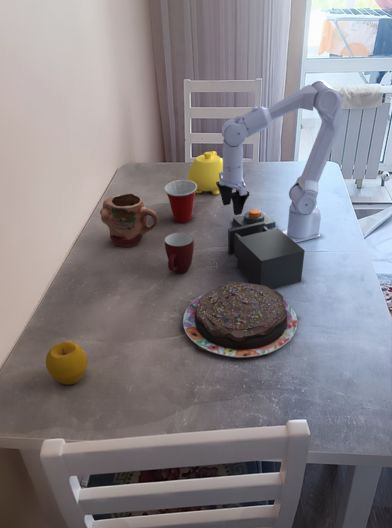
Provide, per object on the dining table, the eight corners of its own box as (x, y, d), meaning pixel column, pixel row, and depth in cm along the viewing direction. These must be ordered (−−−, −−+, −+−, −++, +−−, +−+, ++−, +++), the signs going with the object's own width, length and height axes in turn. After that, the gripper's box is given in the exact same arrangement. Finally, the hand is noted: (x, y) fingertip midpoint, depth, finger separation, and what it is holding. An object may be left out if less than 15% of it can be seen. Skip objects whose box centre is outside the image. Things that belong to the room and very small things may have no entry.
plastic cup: (161, 224, 162) (158, 190, 155) (174, 210, 170) (172, 178, 163) (191, 229, 159) (189, 194, 152) (203, 215, 167) (202, 181, 159)
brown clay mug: (168, 235, 156) (165, 195, 147) (154, 254, 146) (150, 211, 138) (111, 229, 161) (105, 189, 152) (95, 246, 151) (87, 205, 143)
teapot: (195, 175, 196) (194, 141, 187) (233, 177, 193) (234, 143, 184) (184, 195, 180) (182, 159, 172) (225, 198, 177) (225, 161, 169)
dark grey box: (221, 247, 147) (221, 223, 142) (255, 239, 150) (256, 215, 145) (247, 274, 134) (248, 249, 129) (283, 264, 137) (285, 239, 133)
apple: (55, 365, 108) (46, 335, 103) (93, 363, 108) (86, 333, 103) (47, 393, 101) (38, 362, 96) (88, 391, 102) (80, 360, 96)
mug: (187, 284, 133) (186, 252, 127) (160, 280, 135) (157, 249, 129) (198, 264, 141) (197, 233, 135) (172, 261, 143) (169, 231, 137)
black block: (236, 268, 139) (237, 237, 133) (275, 258, 142) (277, 228, 136) (259, 292, 128) (261, 261, 122) (301, 281, 132) (304, 250, 126)
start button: (256, 212, 160) (256, 207, 159) (261, 217, 157) (262, 212, 156) (246, 214, 159) (247, 210, 158) (251, 219, 156) (252, 214, 155)
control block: (261, 215, 165) (262, 206, 163) (275, 226, 158) (275, 216, 156) (233, 222, 162) (233, 212, 159) (245, 233, 155) (245, 223, 153)
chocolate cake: (164, 346, 112) (162, 324, 108) (204, 283, 133) (204, 262, 129) (283, 372, 104) (286, 349, 100) (306, 301, 125) (309, 279, 121)
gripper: (209, 159, 142) (210, 202, 150) (231, 176, 131) (230, 221, 139) (231, 155, 144) (230, 198, 152) (254, 171, 133) (252, 216, 141)
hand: (232, 209), depth 146 cm, fingers open, 7 cm apart
